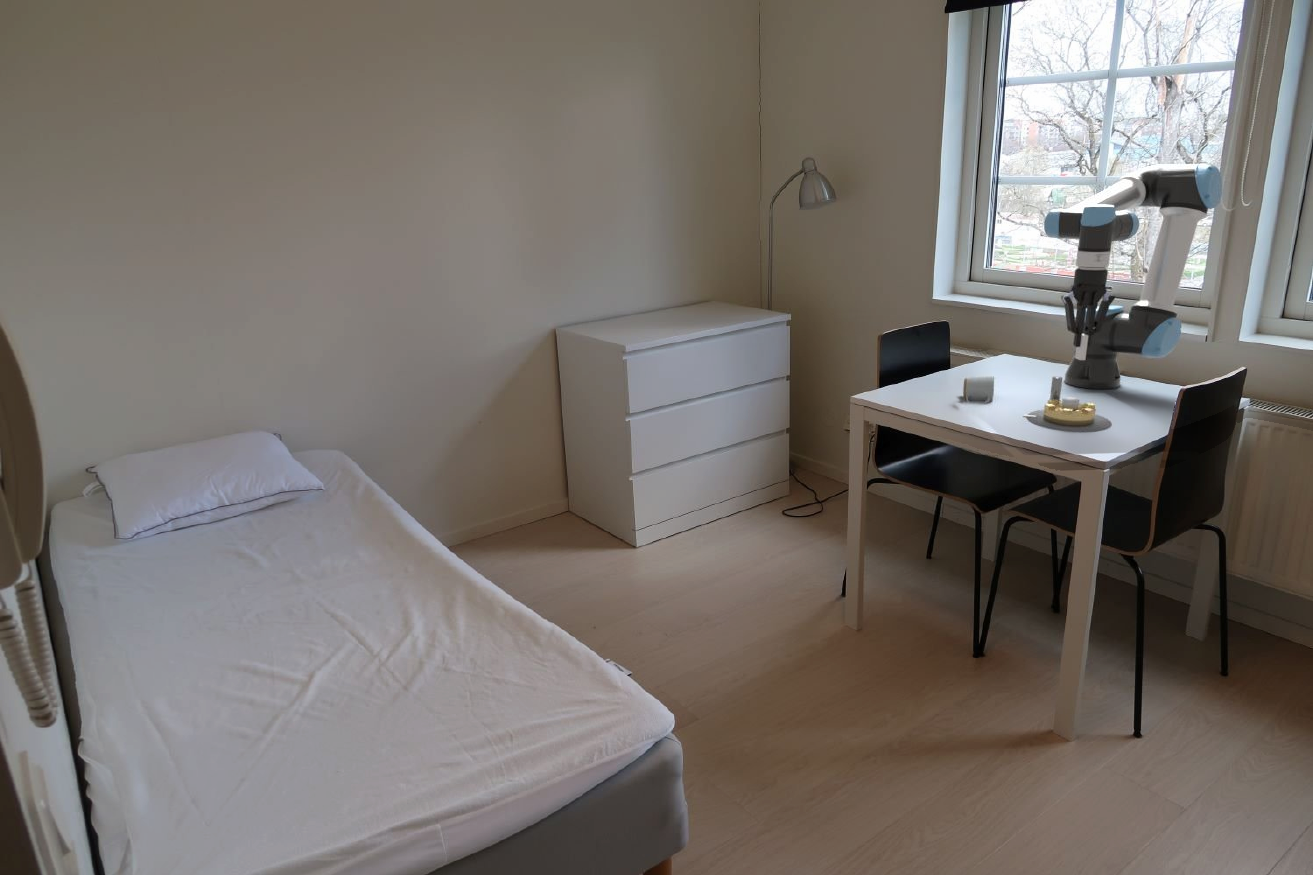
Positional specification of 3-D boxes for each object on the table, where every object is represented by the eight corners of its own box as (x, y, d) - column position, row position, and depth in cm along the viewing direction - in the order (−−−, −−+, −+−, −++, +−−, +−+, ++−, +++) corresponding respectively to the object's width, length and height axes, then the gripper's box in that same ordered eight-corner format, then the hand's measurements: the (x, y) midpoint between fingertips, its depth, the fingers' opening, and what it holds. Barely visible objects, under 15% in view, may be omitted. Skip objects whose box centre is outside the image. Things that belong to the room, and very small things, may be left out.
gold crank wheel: (1103, 425, 219) (1107, 391, 216) (1054, 427, 219) (1058, 393, 217) (1074, 407, 235) (1078, 375, 232) (1029, 409, 235) (1032, 377, 232)
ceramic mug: (963, 397, 253) (964, 372, 251) (993, 399, 250) (995, 373, 248) (961, 408, 244) (963, 382, 241) (992, 410, 241) (995, 383, 238)
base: (1088, 413, 235) (1092, 388, 233) (1126, 436, 216) (1130, 409, 214) (1014, 415, 235) (1016, 390, 233) (1044, 438, 216) (1047, 411, 214)
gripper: (1072, 270, 218) (1061, 362, 226) (1125, 269, 218) (1112, 361, 225) (1059, 266, 225) (1049, 356, 233) (1110, 265, 225) (1098, 355, 232)
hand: (1080, 358), depth 229 cm, fingers closed
